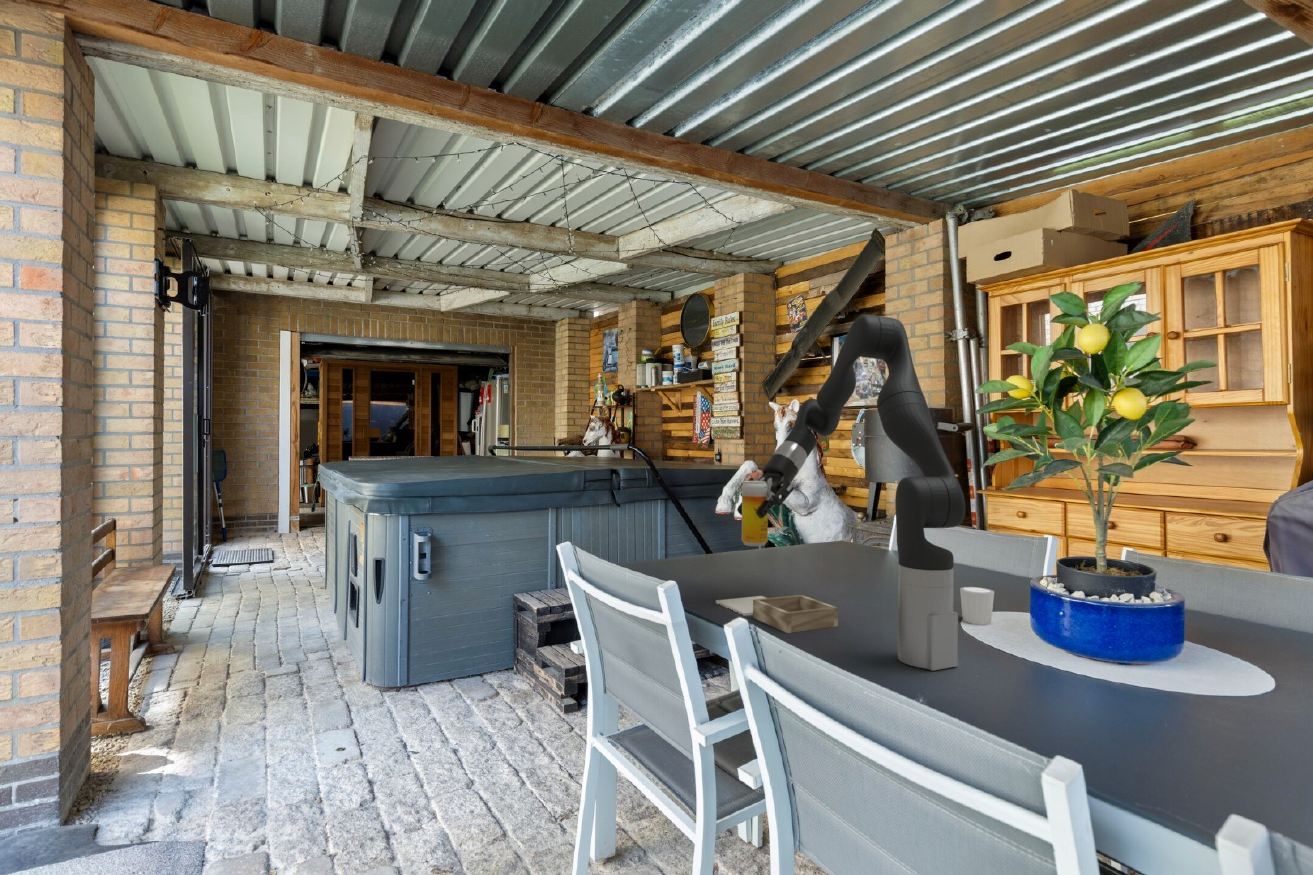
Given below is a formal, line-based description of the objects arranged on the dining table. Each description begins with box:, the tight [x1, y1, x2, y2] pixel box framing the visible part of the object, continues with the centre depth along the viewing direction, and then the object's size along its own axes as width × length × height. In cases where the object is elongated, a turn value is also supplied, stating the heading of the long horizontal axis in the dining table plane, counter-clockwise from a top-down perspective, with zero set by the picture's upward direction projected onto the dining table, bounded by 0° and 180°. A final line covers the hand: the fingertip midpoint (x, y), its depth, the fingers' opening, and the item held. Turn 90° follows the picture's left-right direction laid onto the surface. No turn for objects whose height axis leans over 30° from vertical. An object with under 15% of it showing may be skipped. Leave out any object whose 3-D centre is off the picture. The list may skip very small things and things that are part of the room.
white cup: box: [959, 586, 995, 626], centre depth 150 cm, size 7×7×7 cm
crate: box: [752, 594, 839, 634], centre depth 147 cm, size 13×13×4 cm
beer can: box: [741, 480, 769, 547], centre depth 161 cm, size 6×6×15 cm
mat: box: [715, 595, 767, 617], centre depth 161 cm, size 13×13×1 cm
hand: (749, 514), depth 160 cm, fingers closed on beer can, 6 cm apart
